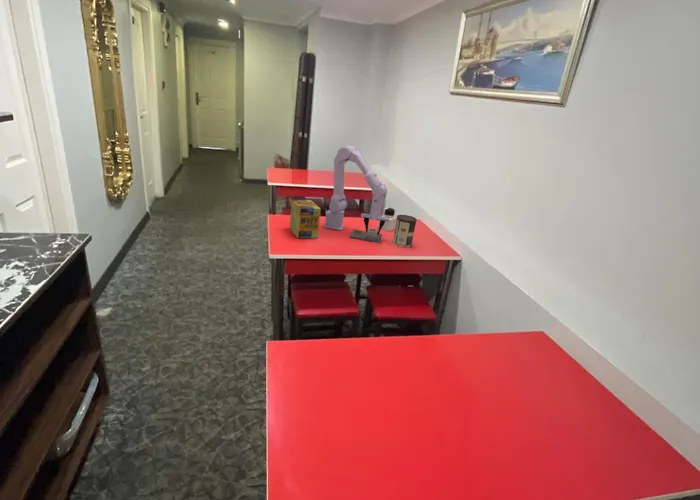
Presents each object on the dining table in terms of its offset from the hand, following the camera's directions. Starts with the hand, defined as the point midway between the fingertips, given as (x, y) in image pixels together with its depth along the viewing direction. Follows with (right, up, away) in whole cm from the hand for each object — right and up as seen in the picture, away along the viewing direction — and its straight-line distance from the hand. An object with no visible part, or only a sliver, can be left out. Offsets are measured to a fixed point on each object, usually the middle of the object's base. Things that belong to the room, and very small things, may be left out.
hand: (372, 232), depth 201 cm
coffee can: (+15, -6, -1) cm, 16 cm away
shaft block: (-3, -2, +1) cm, 4 cm away
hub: (0, -2, 0) cm, 2 cm away
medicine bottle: (+9, +3, +19) cm, 21 cm away
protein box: (-36, -1, -6) cm, 36 cm away
